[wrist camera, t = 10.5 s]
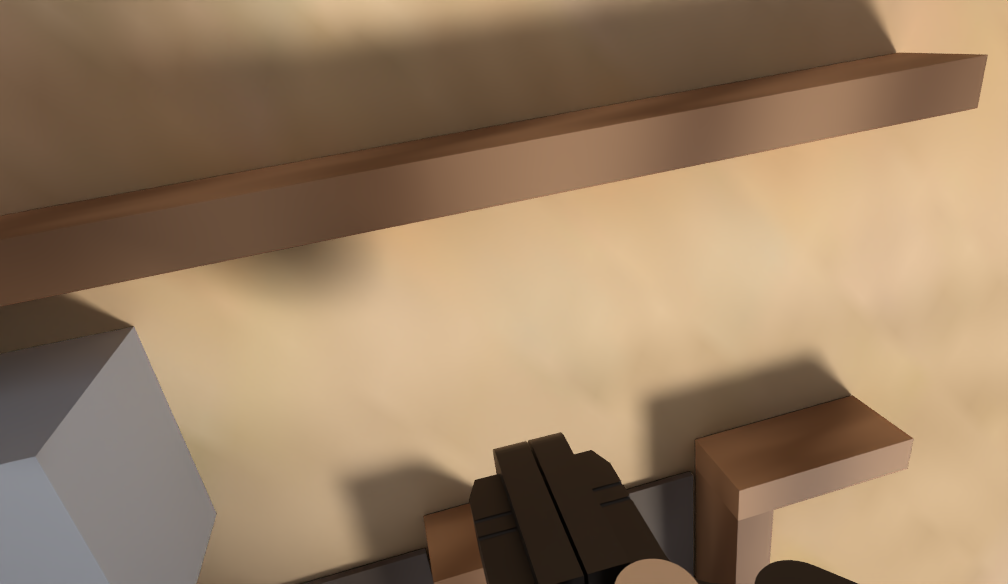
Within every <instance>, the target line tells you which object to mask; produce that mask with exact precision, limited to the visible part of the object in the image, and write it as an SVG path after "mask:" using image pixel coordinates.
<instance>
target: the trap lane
mask: <svg viewBox="0 0 1008 584" xmlns="http://www.w3.org/2000/svg"><path fill="white" fill-rule="evenodd" d="M987 56H988V55H976V54H934V53H894V54H888V55H883V56H877V57H872V58H866V59H861V60H855V61H850V62H844V63H839V64H833V65H828V66H822V67H817V68H811V69H806V70H800V71H795V72H789V73H784V74H778V75H773V76H767V77H762V78H756V79H751V80H745V81H739V82H734V83H728V84H723V85H717V86H712V87H706V88H701V89H695V90H690V91H684V92H679V93H673V94H668V95H662V96H657V97H651V98H646V99H640V100H635V101H629V102H624V103H618V104H613V105H607V106H602V107H596V108H591V109H585V110H580V111H574V112H569V113H563V114H558V115H552V116H547V117H541V118H536V119H530V120H525V121H519V122H514V123H508V124H503V125H497V126H492V127H486V128H481V129H475V130H470V131H464V132H459V133H453V134H448V135H442V136H437V137H431V138H426V139H420V140H415V141H409V142H404V143H398V144H393V145H387V146H382V147H376V148H371V149H365V150H360V151H354V152H349V153H343V154H338V155H332V156H326V157H321V158H315V159H310V160H304V161H299V162H293V163H288V164H282V165H277V166H271V167H266V168H260V169H255V170H249V171H244V172H238V173H233V174H227V175H222V176H216V177H211V178H205V179H200V180H194V181H189V182H183V183H178V184H172V185H167V186H161V187H156V188H150V189H145V190H139V191H134V192H128V193H123V194H117V195H112V196H106V197H101V198H95V199H90V200H84V201H79V202H73V203H68V204H62V205H57V206H51V207H46V208H40V209H35V210H29V211H24V212H18V213H13V214H7V215H2V216H0V307H1V306H6V305H11V304H16V303H21V302H26V301H31V300H36V299H40V298H45V297H50V296H55V295H60V294H65V293H70V292H75V291H80V290H85V289H90V288H95V287H100V286H104V285H109V284H114V283H119V282H124V281H129V280H134V279H139V278H144V277H149V276H154V275H159V274H163V273H168V272H173V271H178V270H183V269H188V268H193V267H198V266H203V265H208V264H213V263H218V262H223V261H227V260H232V259H237V258H242V257H247V256H252V255H257V254H262V253H267V252H272V251H277V250H282V249H286V248H291V247H296V246H301V245H306V244H311V243H316V242H321V241H326V240H331V239H336V238H341V237H346V236H350V235H355V234H360V233H365V232H370V231H375V230H380V229H385V228H390V227H395V226H400V225H405V224H409V223H414V222H419V221H424V220H429V219H434V218H439V217H444V216H449V215H454V214H459V213H464V212H468V211H473V210H478V209H483V208H488V207H493V206H498V205H503V204H508V203H513V202H518V201H523V200H528V199H532V198H537V197H542V196H547V195H552V194H557V193H562V192H567V191H572V190H577V189H582V188H587V187H591V186H596V185H601V184H606V183H611V182H616V181H621V180H626V179H631V178H636V177H641V176H646V175H651V174H655V173H660V172H665V171H670V170H675V169H680V168H685V167H690V166H695V165H700V164H705V163H710V162H714V161H719V160H724V159H729V158H734V157H739V156H744V155H749V154H754V153H759V152H764V151H769V150H774V149H778V148H783V147H788V146H793V145H798V144H803V143H808V142H813V141H818V140H823V139H828V138H833V137H837V136H842V135H847V134H852V133H857V132H862V131H867V130H872V129H877V128H882V127H887V126H892V125H897V124H901V123H906V122H911V121H916V120H921V119H926V118H931V117H936V116H941V115H946V114H951V113H956V112H960V111H965V110H970V109H975V108H977V107H978V102H979V97H980V92H981V87H982V81H983V76H984V71H985V66H986V61H987ZM912 444H913V438H912V437H910V436H909V435H908V434H906V433H905V432H903V431H902V430H900V429H899V428H898V427H896V426H895V425H893V424H892V423H891V422H889V421H888V420H886V419H885V418H884V417H882V416H881V415H879V414H878V413H877V412H875V411H874V410H872V409H871V408H870V407H868V406H867V405H865V404H864V403H863V402H861V401H860V400H858V399H857V398H855V397H854V396H853V395H852V396H848V397H845V398H841V399H838V400H834V401H831V402H827V403H824V404H820V405H817V406H813V407H809V408H806V409H802V410H799V411H795V412H792V413H788V414H785V415H781V416H777V417H774V418H770V419H767V420H763V421H760V422H756V423H753V424H749V425H745V426H742V427H738V428H735V429H731V430H728V431H724V432H721V433H717V434H714V435H710V436H706V437H703V438H699V439H696V440H695V539H696V579H698V580H701V581H705V582H710V583H719V584H755V579H756V576H757V575H758V573H759V572H760V571H761V570H762V569H763V568H764V567H765V566H767V565H769V564H770V550H771V537H772V523H773V510H775V509H778V508H781V507H785V506H788V505H791V504H794V503H798V502H801V501H804V500H807V499H810V498H814V497H817V496H820V495H823V494H827V493H830V492H833V491H836V490H840V489H843V488H846V487H849V486H853V485H856V484H859V483H862V482H866V481H869V480H872V479H875V478H879V477H882V476H885V475H888V474H892V473H895V472H898V471H901V470H904V469H908V464H909V459H910V454H911V449H912ZM627 492H628V494H629V495H630V499H631V500H633V502H634V504H635V505H636V507H637V509H638V510H639V512H640V514H641V515H642V517H643V519H644V520H645V522H646V524H647V525H648V527H649V529H650V530H651V532H652V534H653V535H654V537H655V539H656V540H657V542H658V544H659V545H660V547H661V548H662V550H663V552H664V553H665V555H666V556H667V558H668V559H669V561H670V562H672V563H674V564H677V565H679V566H680V567H682V568H683V569H685V570H686V571H687V572H688V573H689V574H691V576H692V577H693V474H692V473H691V472H690V471H689V472H686V473H682V474H679V475H675V476H672V477H669V478H665V479H662V480H658V481H655V482H651V483H648V484H644V485H641V486H638V487H634V488H631V489H627ZM424 523H425V530H426V536H427V543H428V550H429V556H430V563H431V568H430V564H429V560H428V557H427V553H426V549H425V548H424V549H420V550H417V551H414V552H410V553H407V554H403V555H400V556H396V557H393V558H389V559H386V560H383V561H379V562H376V563H372V564H369V565H365V566H362V567H358V568H355V569H352V570H348V571H345V572H341V573H338V574H334V575H331V576H327V577H324V578H321V579H317V580H314V581H310V582H307V583H303V584H487V583H486V578H485V574H484V570H483V566H482V562H481V557H480V553H479V548H478V543H477V538H476V532H475V527H474V522H473V517H472V512H471V507H470V503H468V504H465V505H461V506H458V507H454V508H451V509H447V510H444V511H440V512H436V513H433V514H429V515H426V516H424ZM431 570H432V571H431Z"/></svg>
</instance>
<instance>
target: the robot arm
mask: <svg viewBox="0 0 1008 584" xmlns="http://www.w3.org/2000/svg"><path fill="white" fill-rule="evenodd" d="M493 455H494V461H495V467H496V473H497V475H493V476H489V477H485V478H481V479H477V480H475V482H474V485H473V488H472V492H471V495H470V499H469V502H470V507H471V512H472V517H473V522H474V527H475V532H476V538H477V543H478V548H479V553H480V557H481V562H482V566H483V570H484V574H485V578H486V583H487V584H719V583H710V582H705V581H701V580H698V579H695V578H693V577H692V576H691V574H689V573H688V572H687V571H686V570H685V569H683V568H682V567H680V566H679V565H677V564H674V563H672V562H670V561H669V559H668V558H667V556H666V555H665V553H664V552H663V550H662V548H661V547H660V545H659V544H658V542H657V540H656V539H655V537H654V535H653V534H652V532H651V530H650V529H649V527H648V525H647V524H646V522H645V520H644V519H643V517H642V515H641V514H640V512H639V510H638V509H637V507H636V505H635V504H634V502H633V500H631V499H630V495H629V494H628V492H627V490H626V489H625V487H624V485H622V484H621V480H620V479H619V477H618V475H617V474H616V472H615V470H614V469H613V467H612V465H611V464H610V463H609V462H608V461H606V460H605V459H603V458H602V457H601V456H599V455H598V454H596V453H595V452H594V451H592V450H590V451H586V452H582V453H578V454H573V452H572V450H571V448H570V446H569V444H568V442H567V440H566V439H565V437H564V435H563V434H562V433H561V432H560V433H556V434H552V435H548V436H544V437H540V438H536V439H532V440H529V441H528V443H527V442H526V441H525V442H521V443H517V444H513V445H509V446H505V447H501V448H497V449H493ZM755 584H858V583H855V582H853V581H850V580H848V579H845V578H843V577H841V576H838V575H836V574H833V573H831V572H829V571H826V570H824V569H821V568H819V567H816V566H814V565H811V564H808V563H805V562H800V561H793V560H783V561H777V562H774V563H771V564H769V565H767V566H765V567H764V568H763V569H762V570H761V571H760V572H759V573H758V575H757V576H756V579H755Z"/></svg>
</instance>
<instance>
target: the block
mask: <svg viewBox="0 0 1008 584" xmlns="http://www.w3.org/2000/svg"><path fill="white" fill-rule="evenodd" d="M216 514H217V513H216V511H215V509H214V507H213V504H212V502H211V500H210V498H209V495H208V493H207V491H206V488H205V486H204V484H203V482H202V479H201V477H200V475H199V473H198V470H197V468H196V466H195V464H194V461H193V459H192V457H191V454H190V452H189V450H188V448H187V445H186V443H185V441H184V439H183V436H182V434H181V432H180V429H179V427H178V425H177V423H176V420H175V418H174V416H173V414H172V411H171V409H170V407H169V405H168V402H167V400H166V398H165V395H164V393H163V391H162V389H161V386H160V384H159V382H158V380H157V377H156V375H155V373H154V371H153V368H152V366H151V364H150V361H149V359H148V357H147V355H146V352H145V350H144V348H143V346H142V343H141V341H140V339H139V337H138V334H137V332H136V330H135V327H134V326H133V327H129V328H124V329H119V330H114V331H109V332H104V333H99V334H94V335H89V336H84V337H80V338H75V339H70V340H65V341H60V342H55V343H50V344H45V345H40V346H35V347H31V348H26V349H21V350H16V351H11V352H6V353H1V354H0V584H197V580H198V577H199V573H200V570H201V566H202V563H203V559H204V556H205V552H206V549H207V545H208V542H209V538H210V535H211V531H212V528H213V524H214V521H215V517H216Z"/></svg>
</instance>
